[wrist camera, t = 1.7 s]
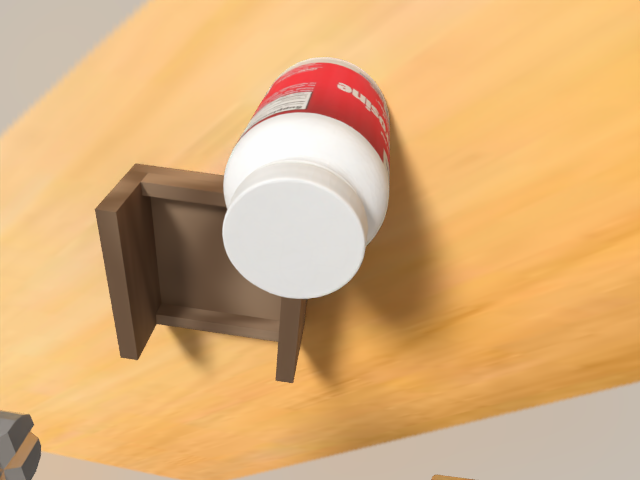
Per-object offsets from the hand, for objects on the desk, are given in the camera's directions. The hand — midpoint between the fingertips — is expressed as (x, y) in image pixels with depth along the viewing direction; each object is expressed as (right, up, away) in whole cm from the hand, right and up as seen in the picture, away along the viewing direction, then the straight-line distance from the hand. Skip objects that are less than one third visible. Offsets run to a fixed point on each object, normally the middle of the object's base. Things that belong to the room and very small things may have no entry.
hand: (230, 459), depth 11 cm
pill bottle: (+2, +11, +16) cm, 19 cm away
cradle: (-4, +4, +21) cm, 21 cm away
